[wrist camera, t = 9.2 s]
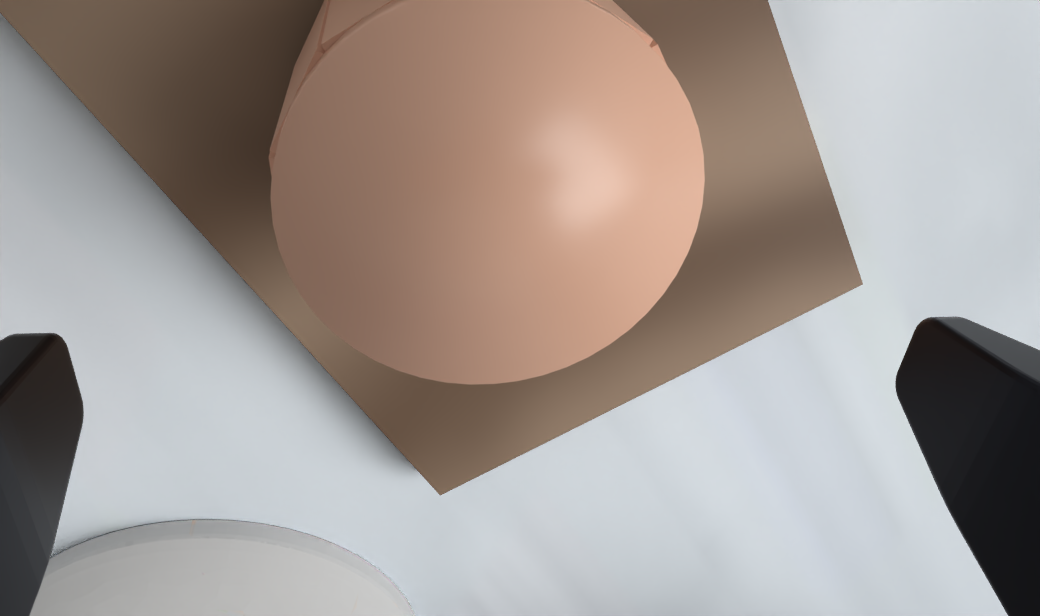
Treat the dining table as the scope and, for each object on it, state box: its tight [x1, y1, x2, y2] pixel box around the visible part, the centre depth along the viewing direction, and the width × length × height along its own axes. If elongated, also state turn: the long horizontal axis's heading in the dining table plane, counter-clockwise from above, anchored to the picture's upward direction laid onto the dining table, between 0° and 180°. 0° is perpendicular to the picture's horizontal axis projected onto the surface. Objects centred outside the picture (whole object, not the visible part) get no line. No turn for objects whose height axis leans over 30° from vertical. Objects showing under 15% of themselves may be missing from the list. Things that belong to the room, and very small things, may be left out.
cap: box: [269, 0, 705, 385], centre depth 13 cm, size 6×6×4 cm
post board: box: [0, 0, 863, 495], centre depth 14 cm, size 18×12×6 cm, turn 28°
